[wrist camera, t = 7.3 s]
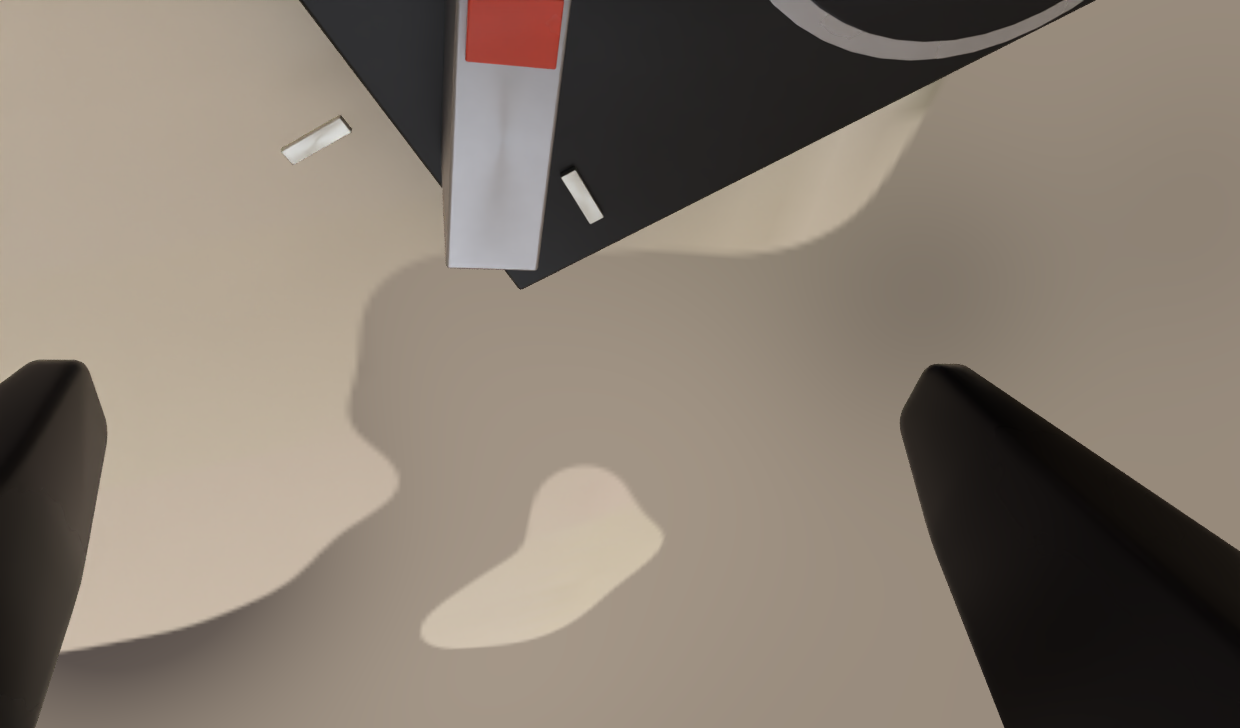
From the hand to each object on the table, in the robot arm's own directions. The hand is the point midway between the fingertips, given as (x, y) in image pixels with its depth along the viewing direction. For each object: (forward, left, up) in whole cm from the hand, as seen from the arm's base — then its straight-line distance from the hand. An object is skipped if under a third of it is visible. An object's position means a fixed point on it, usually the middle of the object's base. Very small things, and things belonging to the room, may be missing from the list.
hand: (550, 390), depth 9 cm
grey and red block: (0, 0, -9) cm, 9 cm away
